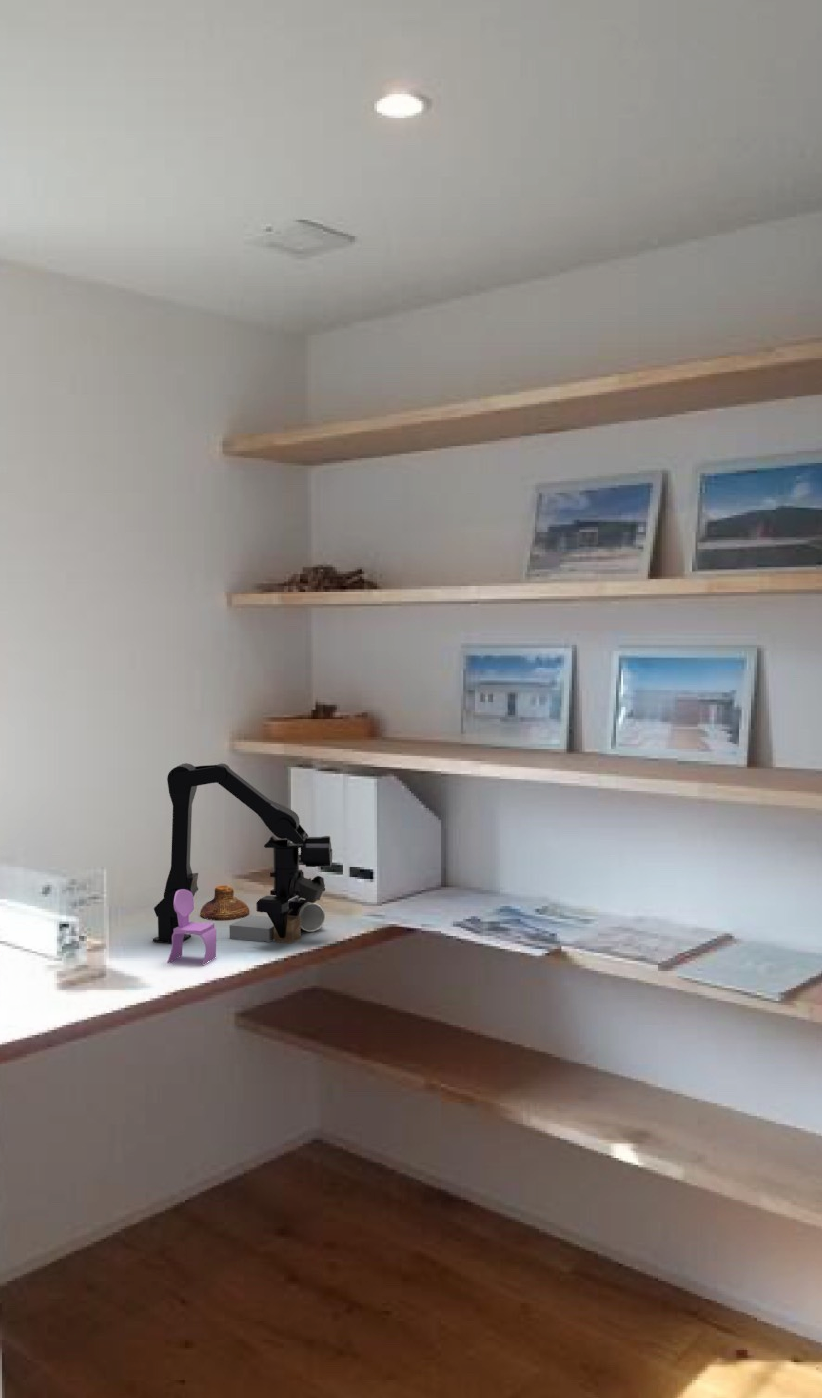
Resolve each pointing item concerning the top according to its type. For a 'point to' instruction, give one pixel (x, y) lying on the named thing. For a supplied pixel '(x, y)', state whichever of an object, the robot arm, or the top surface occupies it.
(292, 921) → the walnut block
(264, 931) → the base
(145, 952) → the top surface
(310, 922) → the white hollow cylinder
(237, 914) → the bell
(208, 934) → the toy chair
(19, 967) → the top surface
